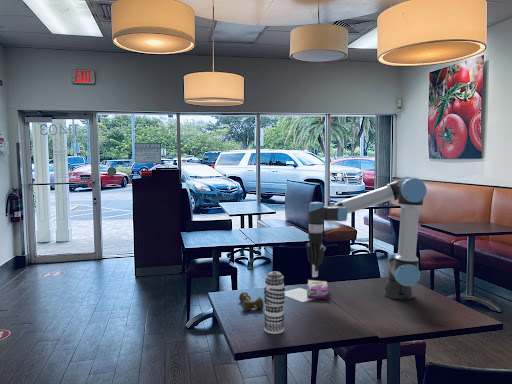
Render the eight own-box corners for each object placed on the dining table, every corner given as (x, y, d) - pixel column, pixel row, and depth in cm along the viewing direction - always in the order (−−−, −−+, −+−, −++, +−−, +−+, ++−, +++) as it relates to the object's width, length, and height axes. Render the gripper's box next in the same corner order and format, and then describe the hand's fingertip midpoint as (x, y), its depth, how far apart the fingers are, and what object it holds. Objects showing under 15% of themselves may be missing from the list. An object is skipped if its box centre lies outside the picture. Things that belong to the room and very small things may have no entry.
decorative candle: (289, 329, 178) (289, 272, 176) (275, 336, 171) (276, 277, 169) (272, 323, 184) (273, 268, 182) (259, 330, 177) (259, 273, 175)
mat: (323, 296, 222) (323, 295, 222) (302, 302, 212) (302, 302, 212) (299, 288, 236) (299, 287, 236) (278, 293, 226) (278, 293, 226)
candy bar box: (307, 288, 217) (307, 279, 233) (307, 297, 217) (306, 287, 233) (329, 290, 215) (327, 281, 232) (328, 299, 216) (326, 289, 232)
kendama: (252, 301, 215) (267, 313, 197) (234, 303, 212) (248, 316, 193) (251, 289, 215) (266, 301, 196) (234, 292, 212) (247, 304, 193)
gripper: (301, 230, 216) (300, 275, 218) (320, 234, 206) (319, 280, 207) (311, 229, 220) (310, 272, 222) (330, 232, 210) (329, 278, 212)
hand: (314, 276), depth 215 cm, fingers closed
